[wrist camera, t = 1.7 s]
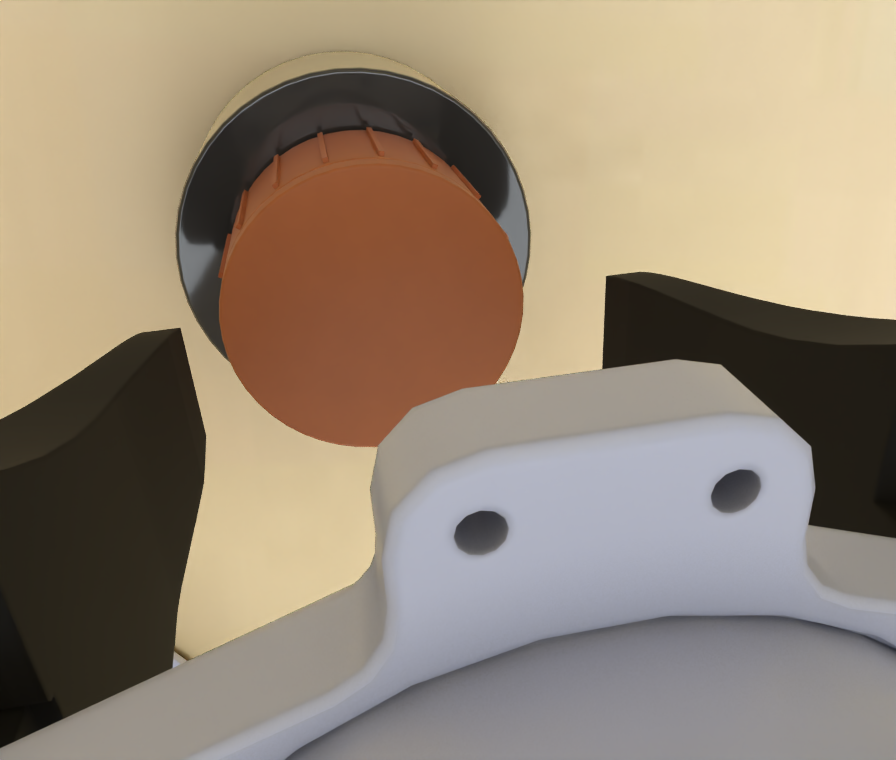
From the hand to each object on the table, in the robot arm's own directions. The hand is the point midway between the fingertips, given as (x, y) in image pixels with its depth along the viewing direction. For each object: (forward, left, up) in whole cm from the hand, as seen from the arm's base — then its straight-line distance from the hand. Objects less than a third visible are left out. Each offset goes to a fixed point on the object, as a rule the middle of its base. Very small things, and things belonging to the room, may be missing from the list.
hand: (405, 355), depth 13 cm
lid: (0, 0, -5) cm, 5 cm away
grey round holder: (0, 0, -9) cm, 9 cm away
